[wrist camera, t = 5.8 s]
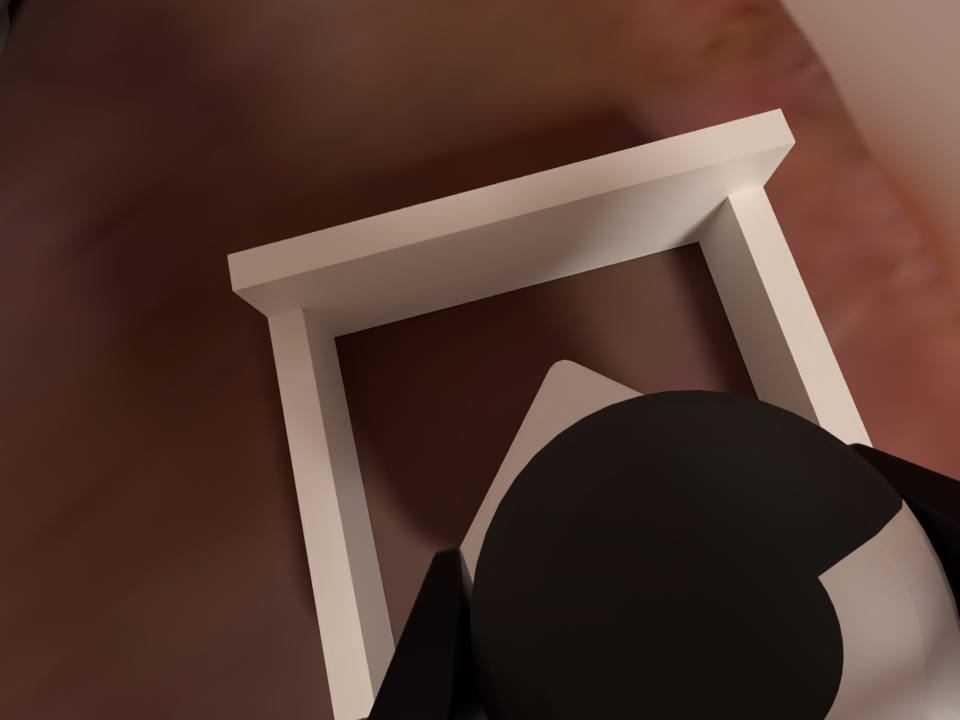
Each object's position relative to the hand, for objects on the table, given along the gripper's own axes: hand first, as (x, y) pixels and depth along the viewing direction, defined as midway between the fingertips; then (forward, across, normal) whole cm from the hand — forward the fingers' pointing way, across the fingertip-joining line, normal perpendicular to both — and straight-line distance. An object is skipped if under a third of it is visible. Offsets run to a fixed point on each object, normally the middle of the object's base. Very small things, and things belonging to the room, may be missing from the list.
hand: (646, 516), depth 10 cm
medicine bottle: (+6, 0, +8) cm, 10 cm away
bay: (+11, 0, +6) cm, 12 cm away
